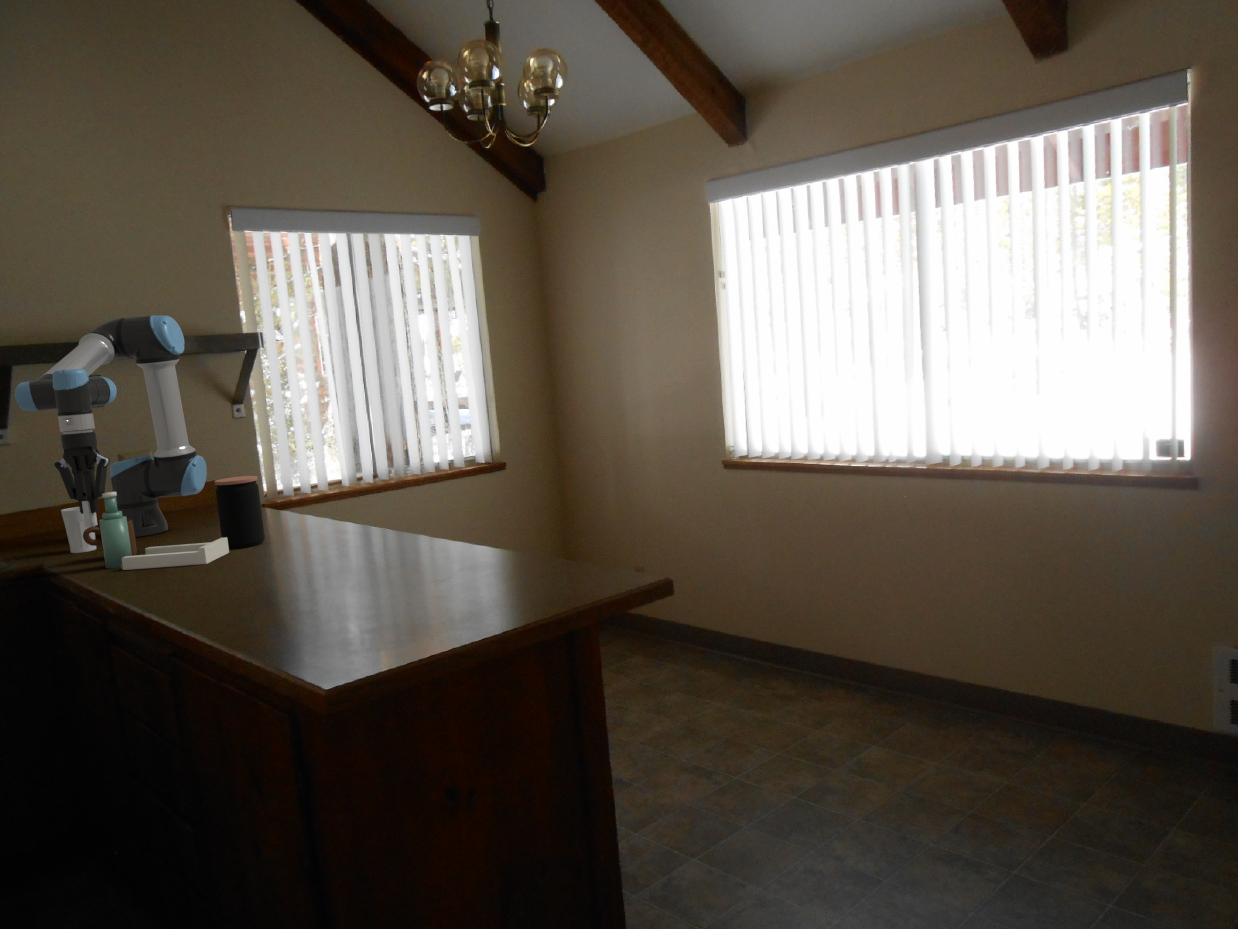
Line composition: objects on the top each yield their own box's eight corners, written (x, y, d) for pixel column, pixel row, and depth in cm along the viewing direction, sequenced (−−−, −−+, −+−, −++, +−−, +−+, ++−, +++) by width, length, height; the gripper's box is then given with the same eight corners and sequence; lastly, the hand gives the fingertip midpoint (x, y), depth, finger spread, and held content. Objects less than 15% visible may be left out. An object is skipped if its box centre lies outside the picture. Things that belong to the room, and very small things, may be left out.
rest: (146, 558, 239) (144, 543, 238) (229, 552, 238) (227, 537, 238) (119, 570, 226) (116, 554, 225) (206, 563, 225) (204, 547, 225)
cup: (89, 552, 255) (83, 509, 254) (61, 554, 256) (54, 511, 254) (105, 546, 263) (99, 504, 262) (78, 548, 263) (72, 507, 262)
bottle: (114, 563, 235) (103, 491, 233) (137, 562, 235) (127, 490, 233) (100, 569, 229) (90, 495, 227) (124, 567, 229) (114, 493, 227)
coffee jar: (272, 539, 252) (264, 474, 250) (253, 548, 242) (245, 480, 240) (235, 542, 253) (227, 477, 251) (214, 550, 243) (206, 482, 241)
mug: (91, 564, 236) (85, 528, 235) (82, 561, 242) (77, 526, 241) (141, 555, 245) (136, 520, 243) (132, 552, 250) (127, 518, 249)
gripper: (42, 435, 225) (56, 530, 227) (95, 431, 224) (108, 527, 227) (61, 432, 232) (74, 525, 235) (112, 428, 232) (125, 521, 234)
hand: (91, 526), depth 231 cm, fingers closed
